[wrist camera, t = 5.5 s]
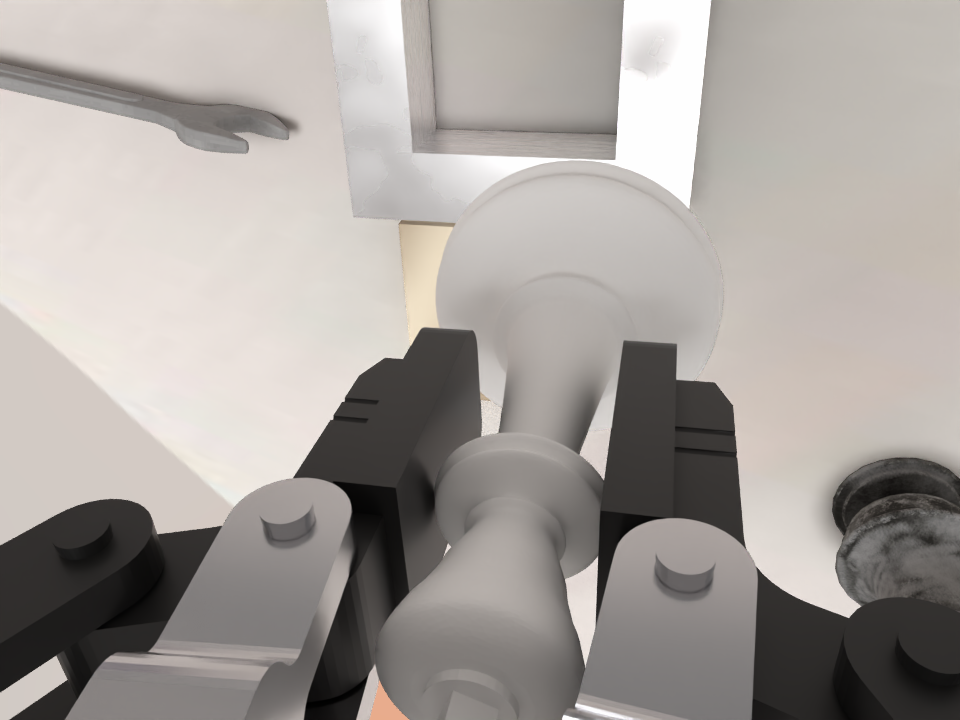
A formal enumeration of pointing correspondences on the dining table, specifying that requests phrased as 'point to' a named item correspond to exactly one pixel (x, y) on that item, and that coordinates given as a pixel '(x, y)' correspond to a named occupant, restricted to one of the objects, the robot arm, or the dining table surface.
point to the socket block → (497, 154)
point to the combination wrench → (152, 110)
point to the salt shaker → (900, 532)
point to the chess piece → (540, 425)
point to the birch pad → (422, 271)
